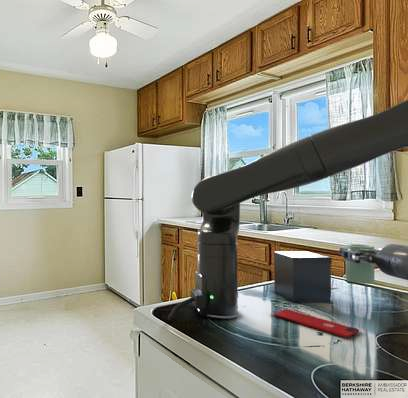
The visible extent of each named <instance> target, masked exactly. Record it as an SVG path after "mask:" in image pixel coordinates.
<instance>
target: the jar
mask: <svg viewBox="0 0 408 398" xmlns="http://www.w3.org/2000/svg"><path fill="white" fill-rule="evenodd" d="M345 248H347V249H353V250H358V249H369V250H371V249H375V246H374V245H370V244H360V243H358V244H357V243H346V244H345ZM365 253H366V252H363V256H365ZM345 280H346V281H348V282H351V283H357V284H362V285H363V284H365V285H368V284H369V285H371V284H375V266H374V265H370V264H367V263H361V262H360V263H355V262H351V261H348V260H345Z"/></svg>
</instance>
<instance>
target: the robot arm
mask: <svg viewBox="0 0 408 398" xmlns="http://www.w3.org/2000/svg"><path fill="white" fill-rule="evenodd" d="M405 148H408V98H407V99H405V100H403V101H402V102H400V103H399V102H398V103H397V104H395V105H393V106H390V107H389V108H387V109H384V110H382V111H380V112H377V113H375V114H371V115H370V116H367V117H364V118H359V119H357V120H354V121H349V122H346V123H343V124H339V125H337V126H333V127H330V128H327V129H324V130H321V131H319V132H315V133H313V134H311V135H308V136H306V137H303V138H301V139H298V140H296V141H294V142H291V143H288V144H287V145H285V146H283V147H280V148H278V149H276V150H273V151H272V152H269V153H268V154H265V155H263V156H261V157H259V158H257V159H255V160H254V161H252V162H249V163H248V164H247V163H246V164H245V165H242V166H239V167H237V168H234V169H231V170H228V171H223V172H220V173H217V174H213V175H210V176H207V177H204V178H202V179H200V180H199V181H198V182H197V184H195V186H194V187H193V190H192V193H191V201H192V204H193V206H194V207H195V208H196V210H198V211H199V212H200V213H202V216H201V217H202V218H201V224H200V226H199V228H198V230H197V236H196V237H197V238H196V239H197V270H196V271H195V273H194V275H195V276H194V277H195V279H194V280H195V281H194V282H195V288H193V289H190V297H189V298H188V299H187V298H186V299H185V300H183V301H181V302H179V303H178V304H176V305H175V306H174V308H173V309H172V310H171V312H170V314H169V315H168V316H167V321H168V322H169V321H172V320H173V319H174V318H175V316H176V314H177V313H178V311H179V310H181V308H183V307H184V306H186V305H188V304H192V305H193V306H194V308H195V310H196V311H197V313H198V314H199V315H200V316H201V317H202V318H210V319H214V320H231V319H235V318H237V317H238V316H239V304H238V303H239V302H238V300H239V292H238V285H239V284H238V237H239V231H240V223H241V221H240V220H241V218H240V217H241V203H243V202H246V201H248V200H251V199H253V198H257V197H260V196H263V195H267V194H273V193H279V192H282V191H283V192H284V191H287V190H293V189H296V188H301V187H304V186H307V185H310V184H313V183H316V182H319V181H322V180H325V179H328V178H331V177H334V176H336V175H339V174H341V173H344V172H346V171H349V170H352V169H355V168H357V167H359V166H362V165H364V164H366V163H369V162H372V161H373V160H376V159H378V158H380V157H383V156H385V155H387V154H390V153H393V152H396V151H399V150H402V149H405ZM363 252H366V253H365V256H363ZM338 255H339V256H341V257H342V260H345V261H346V260H348V261H351V262H355V263H360V262H361V263H367V264H370V265H374V267H377V268H378V269H379V270H380V272H382V273H383V274H385V275H387V276H391V277H393V278H397V279H401V280H405V281H408V245H402V244H396V243H393V244H392V243H389V244H386V245H384V246H383V247H381V248H374V249H371V250H369V249H358V250H353V249H347V248H346V247H340V248H339V250H338Z"/></svg>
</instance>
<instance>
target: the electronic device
mask: <svg viewBox="0 0 408 398" xmlns="http://www.w3.org/2000/svg"><path fill="white" fill-rule="evenodd" d="M273 315H274V316H275V317H277V318H280V319H284V320H286V321H290V322H293V323H297V324H299V325H303V326H307V327H309V328H313V329H316V330H319V331H322V332H326V333H329V334H331V335H332V334H333V335H335V336H338V337H342V338H344V339H345V338H346V339H348V338H350V337H352V336H353V335H355V334H358V333H359V332H360V330H359V328H357V327H353V326H349V325H345V324H341V323H338V322H334V321H331V320H328V319H324V318H321V317H317V316H313V315H309V314H306V313H302V312H300V311H299V312H298V311H295V310H292V309H288V308H287V309H286V308H285V309H283V310H279V311H277V312H274V314H273Z"/></svg>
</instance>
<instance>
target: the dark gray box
mask: <svg viewBox="0 0 408 398" xmlns="http://www.w3.org/2000/svg"><path fill="white" fill-rule="evenodd" d="M332 260H333V259H332V257H330V256H326V255H322V254H318V253H314V252H312V251H274V252H273V265H274V266H273V267H274V268H273V270H274V271H273V275H274V276H273V277H274V278H273V279H274V280H273V281H274V282H273V283H274V284H273V285H274V288H273V289H274V292H275V293H276V294H278V295H279V296H281V297H283V298H285V299H287V300H288V301H290V302H292V303H331V302H332V263H333V261H332Z"/></svg>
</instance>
